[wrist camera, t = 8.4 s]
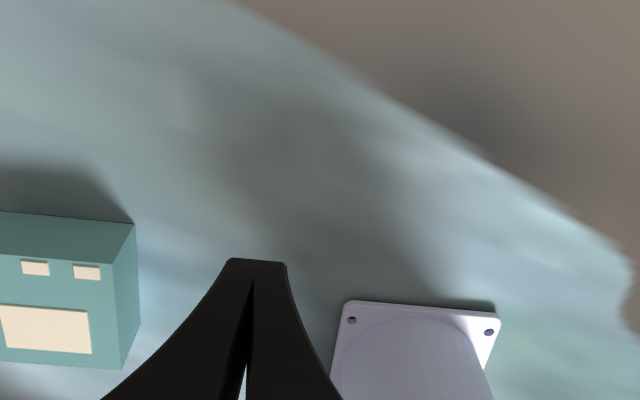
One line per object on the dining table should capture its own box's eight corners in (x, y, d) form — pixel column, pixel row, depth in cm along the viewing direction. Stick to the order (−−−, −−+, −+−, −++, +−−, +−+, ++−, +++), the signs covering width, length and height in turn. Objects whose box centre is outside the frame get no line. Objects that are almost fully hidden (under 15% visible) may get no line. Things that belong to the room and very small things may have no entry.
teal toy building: (140, 324, 26) (120, 371, 23) (17, 313, 25) (-18, 361, 23) (134, 224, 23) (111, 265, 20) (-5, 210, 22) (-47, 251, 20)
